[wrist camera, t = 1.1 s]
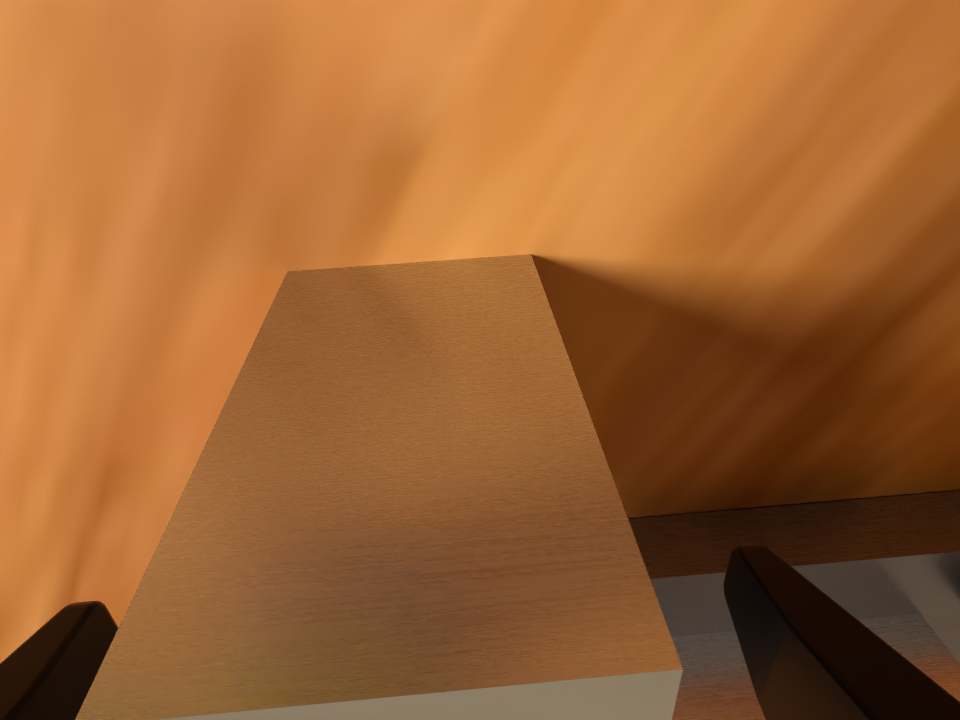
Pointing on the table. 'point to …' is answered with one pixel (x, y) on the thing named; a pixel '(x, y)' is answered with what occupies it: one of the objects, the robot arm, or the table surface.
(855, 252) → the table surface
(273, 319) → the brushed metal square peg
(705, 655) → the square hole base plate
